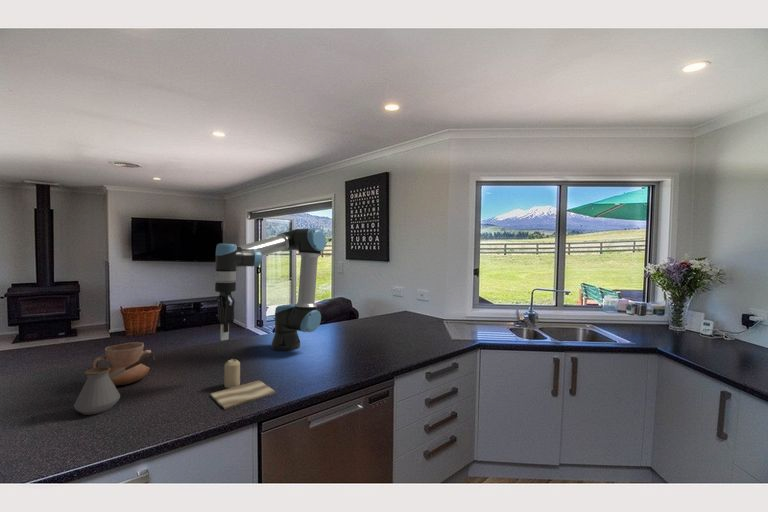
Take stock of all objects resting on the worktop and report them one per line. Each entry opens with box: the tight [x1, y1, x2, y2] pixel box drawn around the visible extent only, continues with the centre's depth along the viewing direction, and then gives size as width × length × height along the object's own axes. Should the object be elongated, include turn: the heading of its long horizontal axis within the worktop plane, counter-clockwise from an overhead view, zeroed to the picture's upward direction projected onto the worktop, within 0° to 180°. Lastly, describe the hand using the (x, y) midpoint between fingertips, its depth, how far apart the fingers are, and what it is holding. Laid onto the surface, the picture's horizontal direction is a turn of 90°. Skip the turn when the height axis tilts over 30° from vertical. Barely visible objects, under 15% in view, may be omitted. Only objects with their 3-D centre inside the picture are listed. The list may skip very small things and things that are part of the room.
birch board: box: [210, 380, 276, 410], centre depth 120 cm, size 14×18×1 cm
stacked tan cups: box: [92, 341, 152, 387], centre depth 129 cm, size 18×14×14 cm
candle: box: [223, 358, 241, 389], centre depth 127 cm, size 6×6×10 cm
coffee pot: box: [73, 354, 156, 416], centre depth 111 cm, size 21×12×15 cm, turn 131°
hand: (224, 339), depth 133 cm, fingers closed
